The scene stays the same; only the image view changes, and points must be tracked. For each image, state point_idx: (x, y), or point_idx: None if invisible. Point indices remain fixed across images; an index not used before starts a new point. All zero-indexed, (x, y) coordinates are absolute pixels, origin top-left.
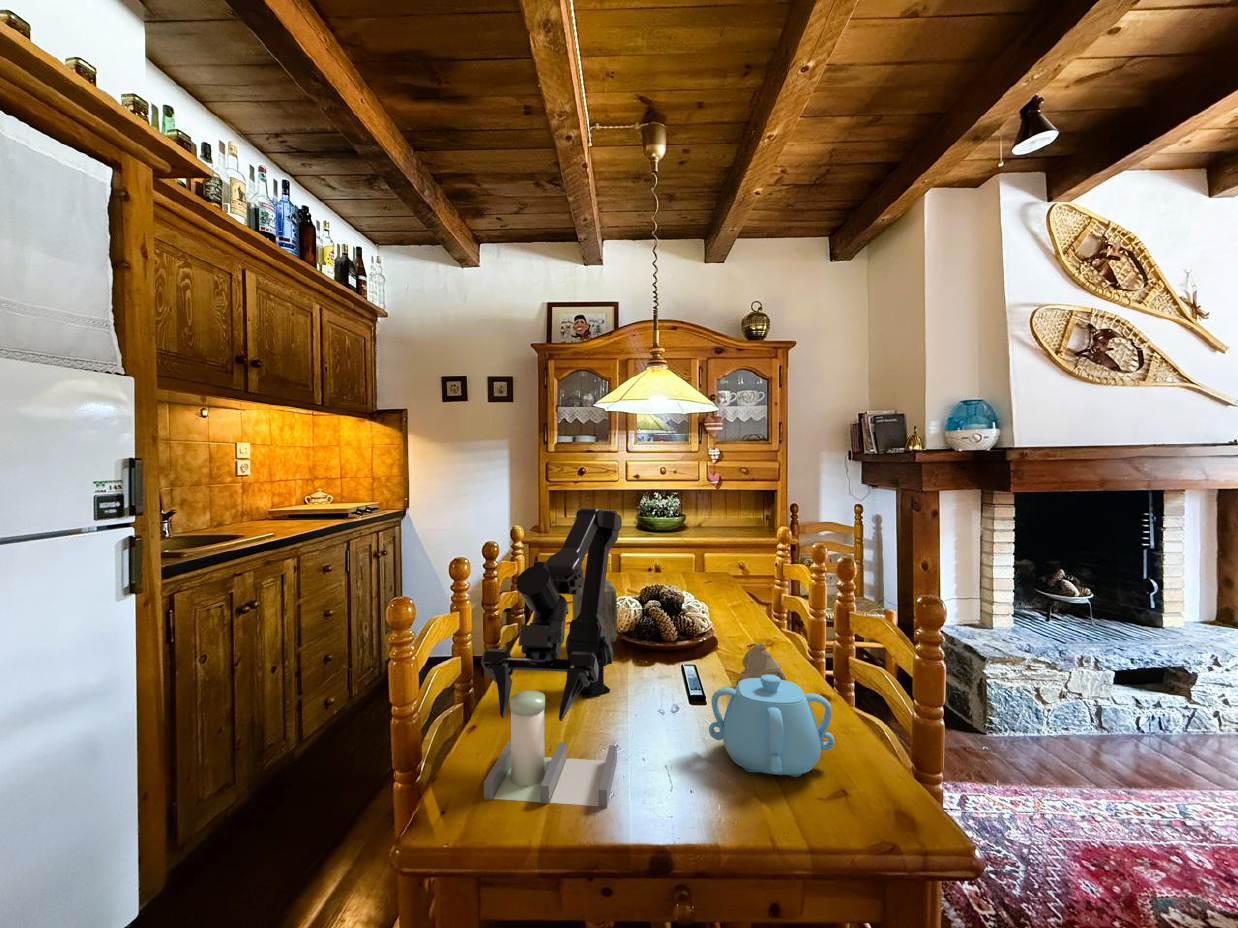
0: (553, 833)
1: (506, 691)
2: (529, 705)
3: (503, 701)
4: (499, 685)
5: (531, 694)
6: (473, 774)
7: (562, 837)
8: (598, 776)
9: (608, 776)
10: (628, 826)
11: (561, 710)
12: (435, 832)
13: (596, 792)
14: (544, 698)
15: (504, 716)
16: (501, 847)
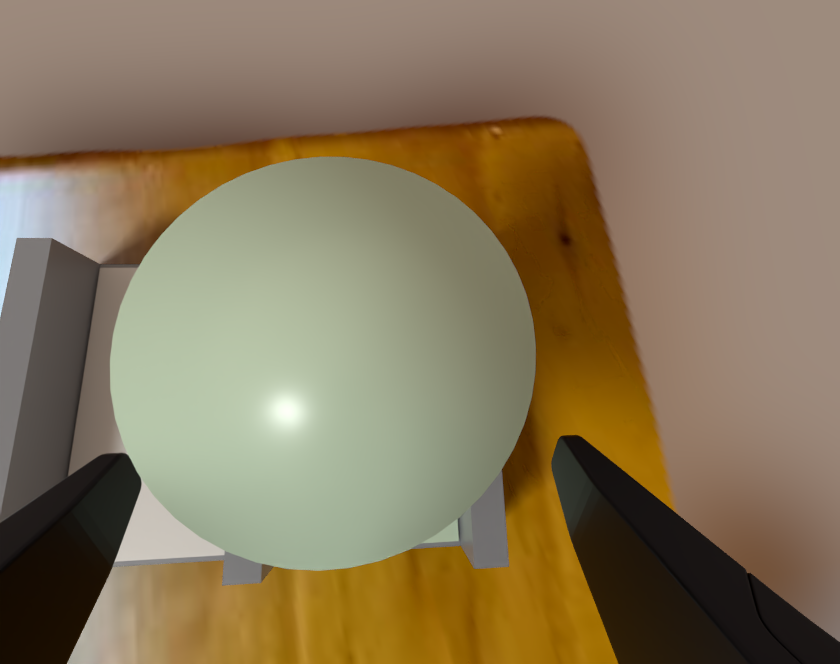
0: None
1: (685, 651)
2: (267, 169)
3: (625, 504)
4: (833, 656)
5: (310, 442)
6: (572, 428)
7: (215, 177)
8: (100, 437)
9: (6, 325)
10: (21, 233)
11: (64, 493)
12: (542, 168)
13: (106, 336)
14: (114, 350)
15: (554, 470)
16: (363, 134)
